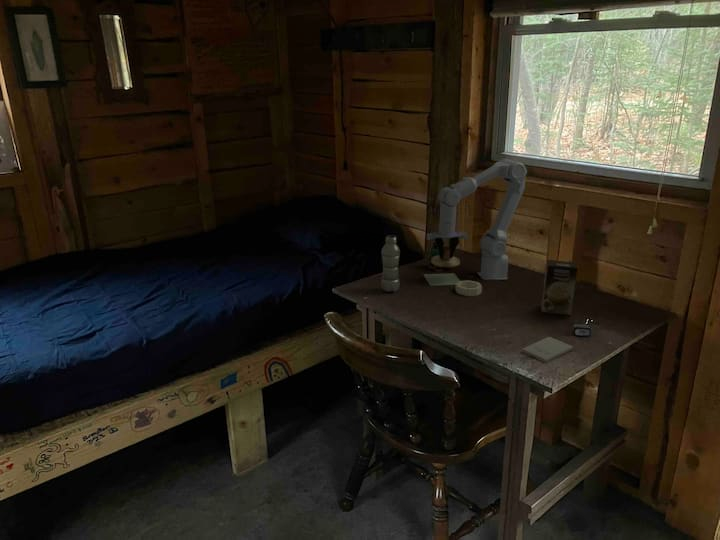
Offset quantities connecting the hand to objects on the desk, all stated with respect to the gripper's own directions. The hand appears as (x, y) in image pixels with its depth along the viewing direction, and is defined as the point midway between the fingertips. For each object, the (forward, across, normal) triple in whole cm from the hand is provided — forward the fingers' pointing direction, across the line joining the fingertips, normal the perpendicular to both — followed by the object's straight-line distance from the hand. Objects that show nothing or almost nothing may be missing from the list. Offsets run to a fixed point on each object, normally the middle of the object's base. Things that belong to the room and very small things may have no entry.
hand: (445, 257), depth 205 cm
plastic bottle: (+10, +22, +7) cm, 25 cm away
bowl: (+9, -6, +12) cm, 16 cm away
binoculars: (+10, -2, -14) cm, 17 cm away
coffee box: (+10, -30, +30) cm, 43 cm away
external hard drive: (+10, -15, +57) cm, 60 cm away
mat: (+9, +1, -1) cm, 9 cm away
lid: (+2, 0, 0) cm, 2 cm away
